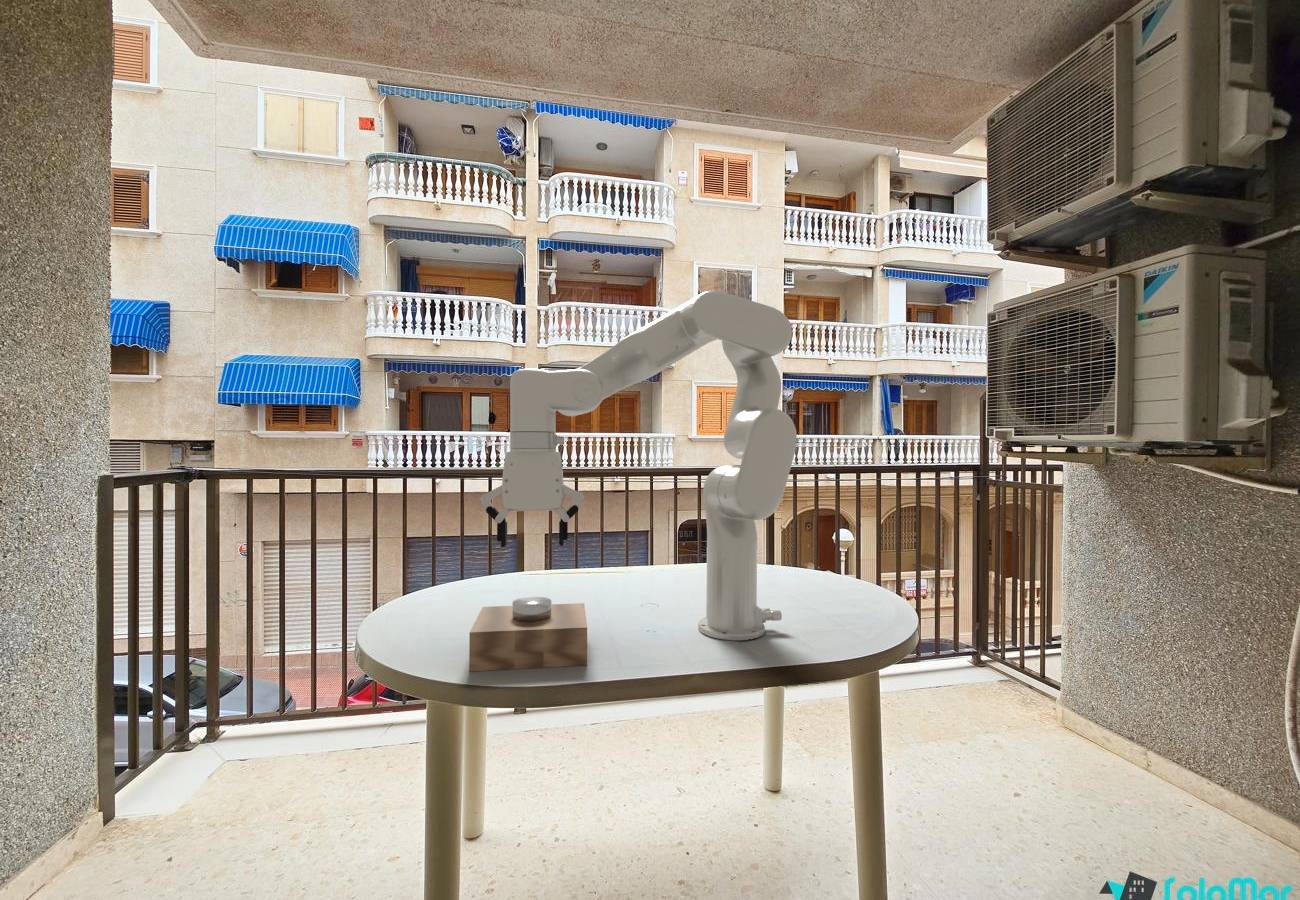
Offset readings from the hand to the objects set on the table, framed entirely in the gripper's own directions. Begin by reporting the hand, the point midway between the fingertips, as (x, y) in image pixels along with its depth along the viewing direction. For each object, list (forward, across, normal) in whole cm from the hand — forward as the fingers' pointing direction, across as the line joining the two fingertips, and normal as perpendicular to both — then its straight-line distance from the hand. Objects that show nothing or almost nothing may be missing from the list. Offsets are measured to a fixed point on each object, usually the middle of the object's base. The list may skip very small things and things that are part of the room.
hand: (532, 545), depth 93 cm
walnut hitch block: (+18, 0, 0) cm, 18 cm away
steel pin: (+17, 0, 0) cm, 17 cm away
